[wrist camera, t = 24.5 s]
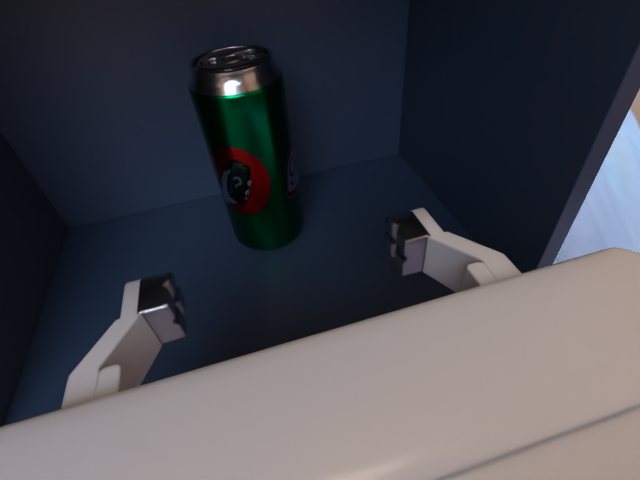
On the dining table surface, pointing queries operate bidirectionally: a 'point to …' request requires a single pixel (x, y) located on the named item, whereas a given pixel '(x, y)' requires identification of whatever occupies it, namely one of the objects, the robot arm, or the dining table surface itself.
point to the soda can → (249, 142)
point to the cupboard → (310, 155)
